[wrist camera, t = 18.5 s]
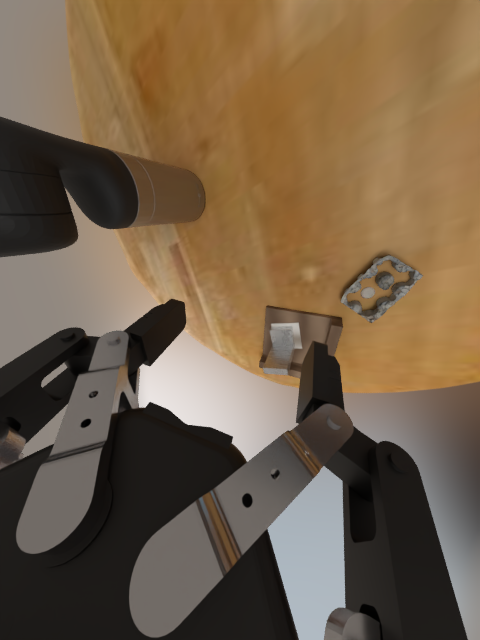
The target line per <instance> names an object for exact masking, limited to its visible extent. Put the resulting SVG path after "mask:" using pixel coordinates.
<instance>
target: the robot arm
mask: <svg viewBox="0 0 480 640" xmlns="http://www.w3.org/2000/svg"><path fill="white" fill-rule="evenodd" d="M64 187H65V188H66V189H67V191H68V192H69V193H70V195H71V196H72V198H73V199H74V201H75V202H76V204H77V205H78V207H79V208H80V209H81V210H82V212H83V213H84V214H85V215H86V216H87V217H88V218H89V219H90V220H91V221H93V222H94V223H95V224H97V225H99V226H101V227H103V228H107V229H121V228H130V227H140V226H150V225H160V224H171V223H183V222H191V221H195V220H196V219H198V218H199V217H200V215H201V214H202V212H203V209H204V205H205V194H204V190H203V186H202V184H201V182H200V180H199V179H198V178H197V176H196V175H195V174H193V173H192V172H190V171H188V170H184V169H180V168H177V167H174V166H170V165H166V164H162V163H159V162H155V161H151V160H147V159H144V158H140V157H136V156H132V155H129V154H124V153H121V152H117V151H113V150H109V149H106V148H102V147H98V146H94V145H90V144H86V143H82V142H79V141H75V140H71V139H68V138H64V137H61V136H58V135H55V134H51V133H48V132H45V131H42V130H39V129H36V128H33V127H30V126H27V125H24V124H21V123H18V122H15V121H12V120H9V119H6V118H3V117H0V257H7V256H16V255H25V254H35V253H42V252H49V251H54V250H59V249H62V248H66V247H68V246H70V245H72V244H73V243H75V241H77V239H78V232H77V226H76V223H75V220H74V216H73V213H72V211H71V207H70V203H69V200H68V197H67V194H66V191H65V188H64ZM185 325H186V313H185V304H184V302H182V301H178V300H175V299H170V300H169V301H168V302H166V303H165V304H161V305H159V306H156V307H154V308H153V309H151V310H150V311H149V312H148V313H146V314H145V315H144V316H143V317H141V318H140V319H138V320H137V321H136V322H135V323H133V324H132V325H131V326H129V327H128V328H127V329H126V330H124V331H112V332H109V333H106V334H105V335H103V336H101V337H93V336H87V335H86V333H85V331H84V330H83V329H81V328H68V329H64V330H62V331H59V332H57V333H56V334H54V335H53V336H51V337H49V338H48V339H46V340H45V341H43V342H42V343H40V344H38V345H37V346H35V347H33V348H32V349H30V350H29V351H27V352H25V353H24V354H22V355H21V356H19V357H17V358H16V359H14V360H13V361H11V362H10V363H8V364H6V365H5V366H3V367H2V368H0V640H299V639H298V635H297V632H296V628H295V624H294V621H293V617H292V614H291V610H290V607H289V603H288V600H287V596H286V593H285V589H284V586H283V582H282V579H281V575H280V572H279V568H278V565H277V561H276V557H275V554H274V551H273V547H272V543H271V540H270V536H269V533H268V529H267V528H268V527H269V526H270V525H271V523H273V522H274V520H275V519H276V518H277V517H278V516H279V515H280V514H281V513H282V512H283V511H284V510H285V508H287V506H288V505H289V504H290V503H291V502H292V501H293V500H294V499H295V498H296V497H297V496H298V494H299V493H300V492H301V491H302V490H303V489H304V488H305V487H306V486H307V485H308V484H309V483H310V482H311V481H312V479H313V478H314V477H315V476H316V475H317V474H318V473H319V471H320V469H321V468H322V467H323V466H325V467H326V468H327V469H329V470H330V471H331V472H332V473H334V474H335V475H336V476H337V477H339V478H340V479H341V480H342V481H343V517H344V557H345V558H344V561H345V601H346V602H345V604H346V608H337V609H335V610H334V611H333V612H332V613H331V614H330V616H329V618H328V620H327V623H326V628H325V636H324V640H468V639H467V636H466V632H465V628H464V625H463V621H462V618H461V614H460V611H459V608H458V604H457V601H456V597H455V594H454V590H453V587H452V583H451V580H450V577H449V573H448V569H447V566H446V562H445V559H444V556H443V552H442V549H441V545H440V542H439V538H438V535H437V531H436V528H435V524H434V521H433V517H432V514H431V511H430V507H429V503H428V500H427V496H426V493H425V490H424V486H423V483H422V479H421V476H420V472H419V470H418V467H417V465H416V464H415V462H414V460H413V459H412V458H411V457H410V455H409V454H408V453H407V452H406V451H404V450H403V449H402V448H401V447H400V446H398V445H396V444H394V443H392V442H388V441H382V442H380V443H376V442H375V441H373V440H372V439H370V438H369V437H367V436H366V435H364V434H363V433H361V432H360V431H359V430H358V429H356V428H355V427H354V426H353V423H352V421H351V419H350V417H349V416H348V415H347V413H345V410H344V402H343V392H342V383H341V375H340V374H341V373H340V365H339V363H338V361H337V360H336V358H335V357H334V356H331V355H328V345H327V344H323V343H320V342H316V341H312V343H311V345H310V347H309V349H308V351H307V354H306V356H305V358H304V360H303V363H302V368H301V377H300V387H299V398H298V408H297V418H296V423H299V425H298V426H296V427H295V428H294V429H293V430H291V431H286V432H285V433H283V434H282V435H281V436H280V437H278V438H277V439H276V440H275V441H273V442H272V443H271V444H270V445H268V446H267V447H266V448H264V449H263V450H262V451H261V452H259V453H258V454H257V455H256V456H254V457H253V458H252V459H251V460H249V462H247V461H246V459H245V458H244V456H243V455H242V453H241V452H240V451H239V450H238V449H237V447H235V446H234V445H233V444H232V439H233V437H232V436H230V435H228V434H225V433H223V432H221V431H218V430H216V429H213V428H211V427H202V426H193V425H187V424H185V423H183V422H182V421H181V420H180V419H179V418H178V417H177V416H175V415H174V414H173V413H172V412H171V411H169V410H168V409H166V408H163V407H161V406H158V405H156V404H153V403H151V402H150V403H149V404H148V405H147V406H146V408H139V404H138V390H139V376H140V369H139V367H140V366H141V365H142V364H145V365H148V366H151V365H152V364H153V363H154V362H155V360H156V359H157V358H158V357H159V356H160V355H161V354H162V353H163V352H164V350H165V349H166V348H167V347H168V346H169V345H170V344H171V343H172V341H174V339H175V338H176V337H177V336H178V335H179V334H180V333H181V332H182V331H183V329H184V328H185ZM62 363H65V364H66V366H67V367H68V368H67V369H66V370H64V371H63V372H62V373H61V374H59V375H58V376H57V377H56V378H54V379H53V380H52V381H51V382H49V383H48V384H47V385H46V386H44V387H43V388H42V387H41V382H42V380H43V379H44V377H46V376H47V375H48V374H50V373H51V372H52V371H53V370H55V369H56V368H57V367H59V366H60V365H61V364H62ZM67 404H68V406H67V409H66V412H65V415H64V418H63V420H62V423H61V426H60V429H59V432H58V435H57V438H56V440H55V443H54V444H53V445H50V446H48V447H46V448H44V449H42V450H39V451H37V452H35V453H33V454H31V455H29V456H27V457H25V458H23V453H21V452H22V450H23V448H24V446H25V444H26V443H27V442H28V441H29V440H30V439H31V438H32V437H33V436H34V435H36V434H37V433H38V432H39V430H41V429H42V428H43V427H44V426H45V425H46V424H47V423H48V422H49V421H50V420H51V419H52V418H53V417H54V416H55V415H56V414H57V413H59V411H61V410H62V409H63V408H64V407H65V406H66V405H67Z"/></svg>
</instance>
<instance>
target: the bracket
mask: <svg viewBox="0 0 480 640" xmlns="http://www.w3.org/2000/svg"><path fill="white" fill-rule="evenodd" d="M270 335H271V340H272V344H273V345H272V347H271V350H270V352H269V354H268V357H267V359H266V361H265V364H264V366H263V370H264V373H266V374H279V375H288V374H289V370H290V366H291V362H292V358H293V354H294V349H295V342H294V335H293V329H292V327H271V328H270Z"/></svg>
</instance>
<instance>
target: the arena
mask: <svg viewBox="0 0 480 640" xmlns="http://www.w3.org/2000/svg"><path fill="white" fill-rule="evenodd" d="M271 327H292V329H293V335H294V342H295V349H294V354H293V358H292V362H291V366H290V370H289V374H288V375H289V376H293V377H297V378H300V377H301V368H302V363H303V360H304V358H305V356H306V354H307V351H308V349H309V347H310V345H311V343H312V341H316V342H320V343H323V344H327V345H328V355H331V356H334V354H335V351H336V348H337V345H338V341H339V338H340V335H341V332H342V328H343V324H342V318H340V317H334V316H328V315H321V314H315V313H309V312H303V311H297V310H291V309H285V308H278V307H272V306H267V307H266V317H265V331H264V345H263V355H262V357H261V360H260V363H259V367H260V368H263V366H264V364H265V361H266V359H267V357H268V354H269V352H270V350H271V347H272V345H273V344H272V340H271V335H270V328H271Z"/></svg>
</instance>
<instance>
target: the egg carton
mask: <svg viewBox="0 0 480 640" xmlns="http://www.w3.org/2000/svg"><path fill="white" fill-rule="evenodd" d="M386 260H391V261H392V266H393V267H394V268H395V269H396V270H397V271H398V272H406V271H410V272H409V276H410V279H409V280H408V281H407V282H406V283H404V282H398V283H396V284H394V285H393V287H392V292H393V293H392V294H391V296H390V297H381V298H379V299H378V300H377V302H376V305H377V308H376V309H375V310H366V311H364V312H363V311H362V307H361V304H360V302H358V301H351V302H347V298H346V296H347V294H349V293H355V292H357V291H358V290H359V289H361V284H360V282H359V281H362V278H363V279H365V278H371V277H372V276H375V275H376V274H377V272H378V269H377V265H381V264H382V262H383V261H386ZM373 264H374V265H372V266H371V268H370V269H368V270H367V272H366V273H365V274H362V273H361V274H360V275H359V276H358V277H357V279H358V280H357V281H356V282H355V283H354V284H352V285H351V286H350V288H347V289H346V290H345V291H344V295H343V297H342V300H341V302H342V303H343V304H345V305H346V306H348V307H349V308H351V309H352V310H354V311H355V312H357V313H358V314H359V315H361V316H362V317H363V318H365V319H366V320H368V321H369V322H371V323H372V322H374V321H375V320H377V319H378V318H379V317H380V316H382V315H383V314H384V313H385V312H386V310H387V309H388V308H390V307H391V306H393V305H394V304H395V303H396V302H397V301H398V300H399V299H400V298H402V297H403V296H405V295H406V294H407V292H408V291H409V290H410V289H411V288H412V286H413V285H414V284H415V283H416V281H417V280H419V279H421V278H422V276H423V275H421V274H420V273H419V272H418V271H416V270H413V269H412V268H411V267H409V266H408V265H406V264H404V263H402V262H401V261H399V260H398V259H397V258H394V257H392V256H391V255H388V256H386V257H384V258H378V257H376V258H375V259H374V260H373ZM376 283H377V284H378V286H379V287H380V288H382V289H383V290H387V289H389V287H390V286H391V285H392V284H393V283H394V278H393V276H392V274H390V273H388V272H381V273H379V274H378V275H377V276H376ZM374 294H375V290H374V289H373V288H371V287H367V288H364V289H363V290H362V291H361V296H362V297H363V298H371V297H373V295H374Z"/></svg>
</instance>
